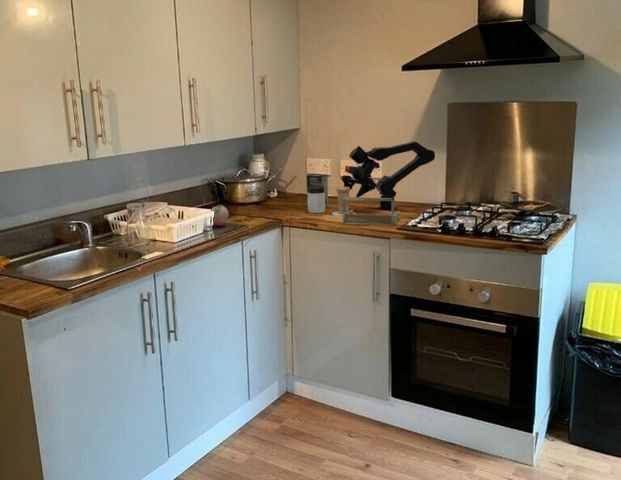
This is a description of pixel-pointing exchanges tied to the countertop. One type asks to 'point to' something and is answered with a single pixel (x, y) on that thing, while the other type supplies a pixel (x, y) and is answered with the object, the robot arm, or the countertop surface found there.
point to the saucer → (337, 214)
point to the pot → (340, 194)
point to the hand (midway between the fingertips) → (349, 196)
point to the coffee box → (318, 184)
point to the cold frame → (369, 218)
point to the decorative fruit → (220, 215)
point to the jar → (316, 199)
